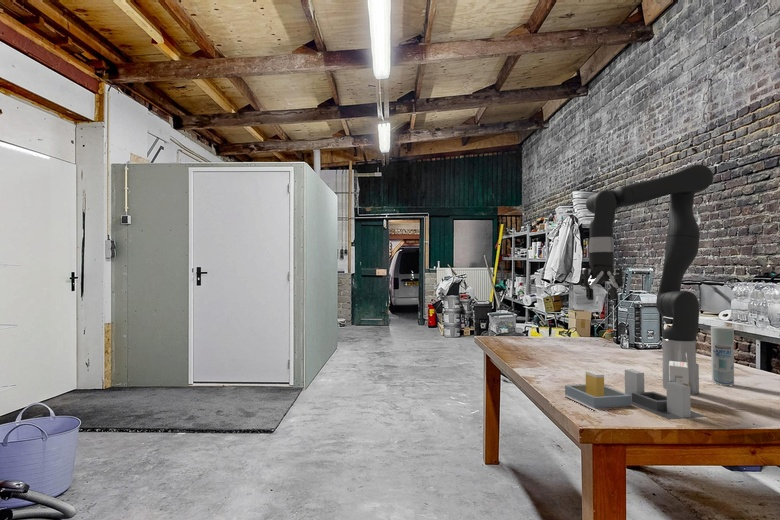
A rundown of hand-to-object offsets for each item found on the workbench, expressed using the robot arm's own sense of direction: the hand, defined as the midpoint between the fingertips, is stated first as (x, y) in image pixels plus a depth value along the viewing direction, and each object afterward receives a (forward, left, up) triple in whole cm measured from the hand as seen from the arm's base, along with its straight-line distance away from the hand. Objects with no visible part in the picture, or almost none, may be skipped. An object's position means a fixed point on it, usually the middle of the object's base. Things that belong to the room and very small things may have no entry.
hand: (601, 299), depth 146 cm
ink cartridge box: (-14, +16, -30) cm, 37 cm away
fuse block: (-2, +20, -30) cm, 36 cm away
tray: (+11, +12, -30) cm, 34 cm away
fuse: (+11, +11, -29) cm, 33 cm away
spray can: (-48, 0, -30) cm, 57 cm away
